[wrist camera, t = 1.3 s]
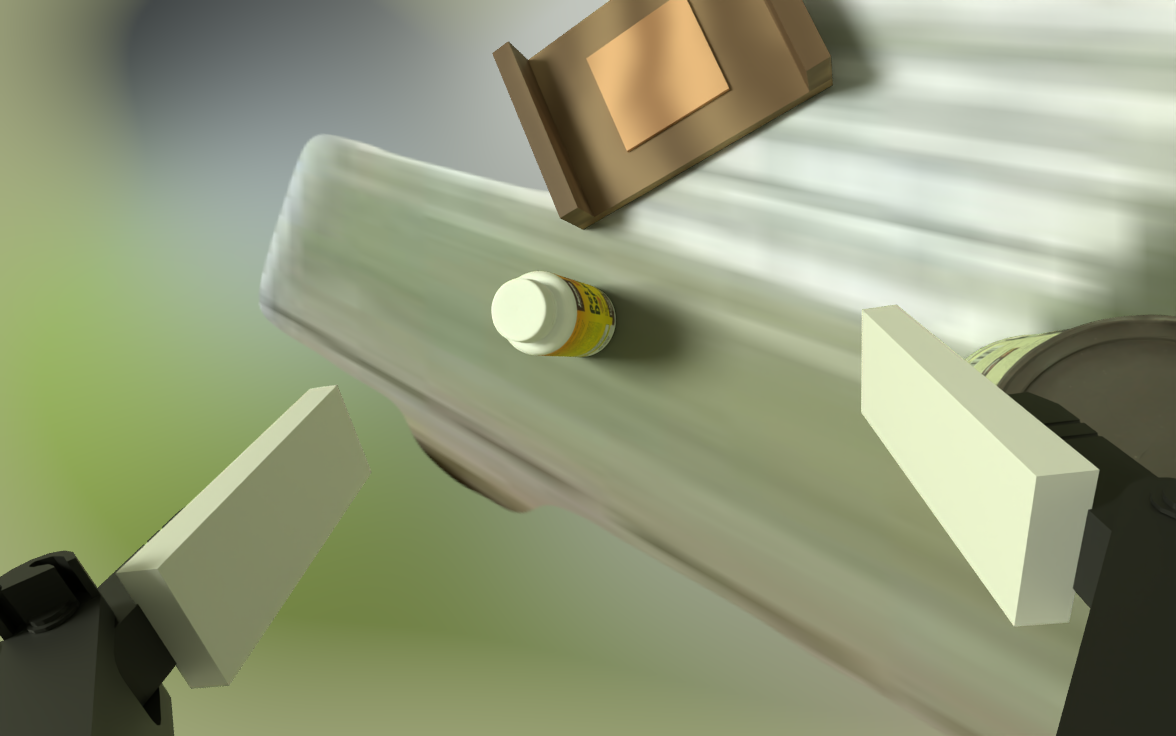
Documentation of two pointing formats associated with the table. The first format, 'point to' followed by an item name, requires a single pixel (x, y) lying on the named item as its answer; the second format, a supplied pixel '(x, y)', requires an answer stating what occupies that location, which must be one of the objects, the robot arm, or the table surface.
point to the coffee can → (1101, 380)
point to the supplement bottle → (553, 315)
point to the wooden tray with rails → (657, 92)
